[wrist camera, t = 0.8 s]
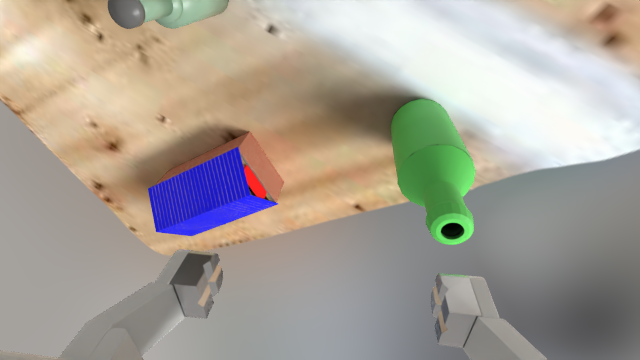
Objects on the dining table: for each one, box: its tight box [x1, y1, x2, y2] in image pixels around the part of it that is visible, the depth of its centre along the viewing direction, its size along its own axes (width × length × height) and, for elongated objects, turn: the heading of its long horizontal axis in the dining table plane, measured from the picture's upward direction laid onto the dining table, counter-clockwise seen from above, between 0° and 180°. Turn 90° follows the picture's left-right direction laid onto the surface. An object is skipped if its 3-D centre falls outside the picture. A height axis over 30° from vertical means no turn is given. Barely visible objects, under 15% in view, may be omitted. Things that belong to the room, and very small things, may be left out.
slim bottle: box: [108, 0, 229, 29], centre depth 37 cm, size 5×5×20 cm
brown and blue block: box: [148, 132, 284, 236], centre depth 57 cm, size 12×20×12 cm, turn 118°
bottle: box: [391, 99, 475, 245], centre depth 41 cm, size 9×9×25 cm
